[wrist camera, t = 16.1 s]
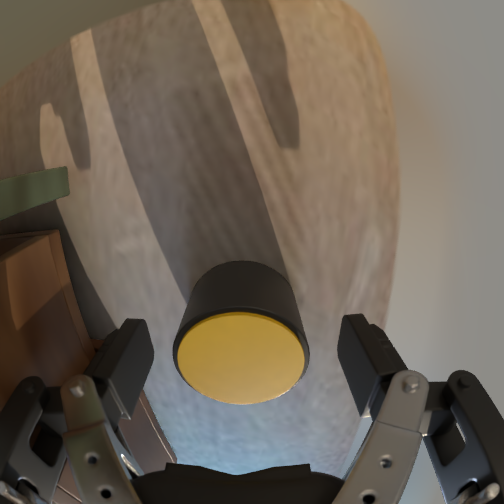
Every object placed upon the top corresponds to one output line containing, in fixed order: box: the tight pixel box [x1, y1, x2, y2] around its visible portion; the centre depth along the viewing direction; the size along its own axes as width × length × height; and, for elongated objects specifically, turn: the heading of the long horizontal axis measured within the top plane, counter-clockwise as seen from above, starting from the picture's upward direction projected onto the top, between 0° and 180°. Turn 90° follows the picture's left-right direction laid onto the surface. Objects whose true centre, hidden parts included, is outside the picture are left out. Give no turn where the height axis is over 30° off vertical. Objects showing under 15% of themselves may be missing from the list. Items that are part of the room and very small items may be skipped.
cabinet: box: [51, 338, 177, 504], centre depth 10 cm, size 14×12×10 cm
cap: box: [173, 261, 310, 404], centre depth 10 cm, size 5×5×4 cm
